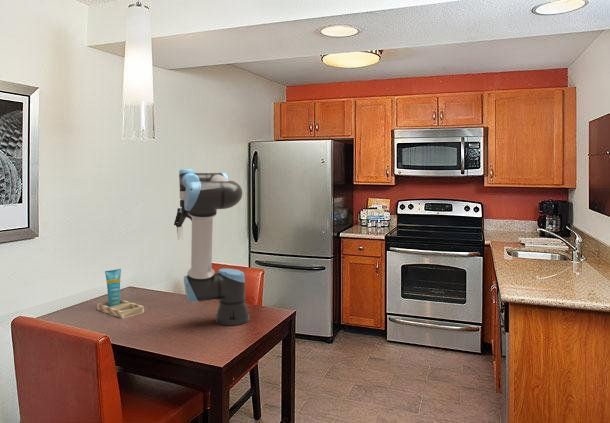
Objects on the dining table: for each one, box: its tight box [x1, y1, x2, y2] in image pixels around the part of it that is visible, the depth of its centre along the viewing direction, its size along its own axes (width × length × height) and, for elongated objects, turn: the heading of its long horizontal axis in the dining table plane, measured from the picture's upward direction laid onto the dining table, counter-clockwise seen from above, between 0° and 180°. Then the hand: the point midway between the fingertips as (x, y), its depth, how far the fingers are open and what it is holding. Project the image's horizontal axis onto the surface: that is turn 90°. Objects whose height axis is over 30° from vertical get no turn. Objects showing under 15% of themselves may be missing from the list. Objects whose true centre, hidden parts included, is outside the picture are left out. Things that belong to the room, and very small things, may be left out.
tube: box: [104, 268, 122, 307], centre depth 229 cm, size 7×5×19 cm, turn 134°
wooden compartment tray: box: [96, 298, 145, 320], centre depth 226 cm, size 22×12×3 cm, turn 52°
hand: (188, 240), depth 240 cm, fingers open, 13 cm apart
